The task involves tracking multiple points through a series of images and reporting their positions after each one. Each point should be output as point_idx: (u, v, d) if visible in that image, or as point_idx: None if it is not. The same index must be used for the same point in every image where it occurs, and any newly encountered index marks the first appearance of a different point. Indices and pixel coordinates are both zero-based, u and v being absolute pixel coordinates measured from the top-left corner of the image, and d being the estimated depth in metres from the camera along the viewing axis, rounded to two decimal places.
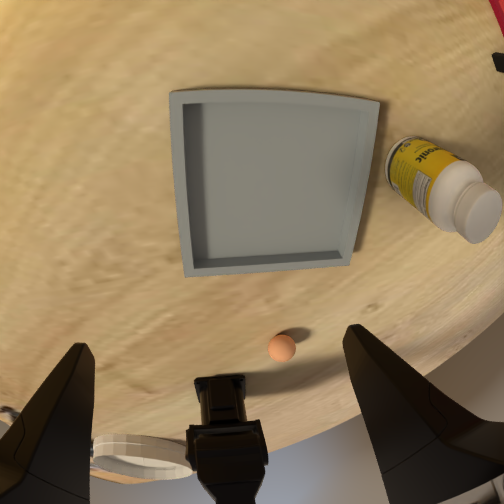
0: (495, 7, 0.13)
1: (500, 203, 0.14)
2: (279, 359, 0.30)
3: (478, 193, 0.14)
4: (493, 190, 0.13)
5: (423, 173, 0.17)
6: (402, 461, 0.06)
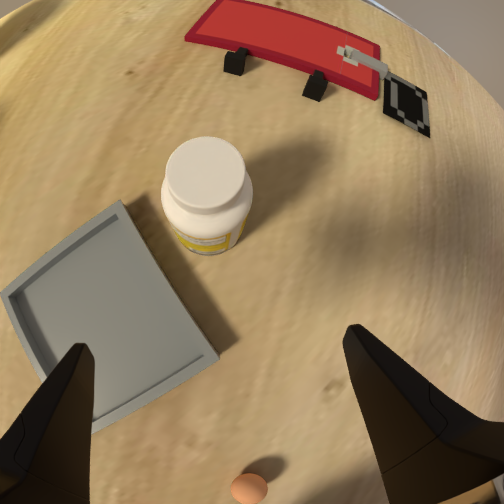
0: (197, 40, 0.27)
1: (215, 140, 0.14)
2: (246, 501, 0.17)
3: (168, 162, 0.14)
4: (185, 142, 0.14)
5: None
6: (402, 461, 0.06)
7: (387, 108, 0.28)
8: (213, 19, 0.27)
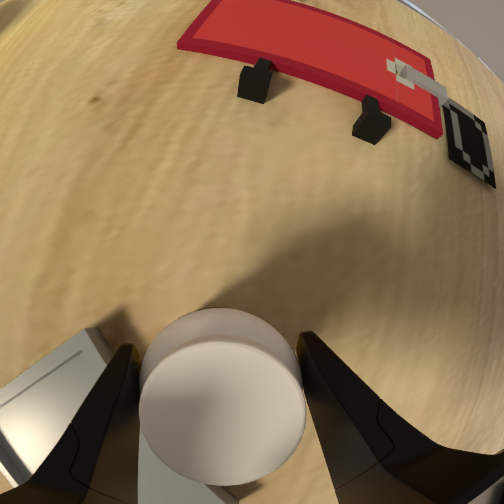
0: (195, 47, 0.19)
1: (241, 353, 0.06)
2: None
3: (141, 395, 0.06)
4: (172, 355, 0.06)
5: None
6: (350, 480, 0.06)
7: (453, 150, 0.20)
8: (217, 17, 0.19)
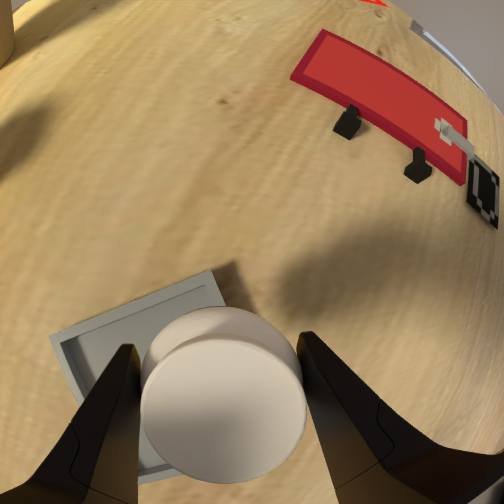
0: (304, 82, 0.26)
1: (242, 352, 0.06)
2: None
3: (143, 393, 0.06)
4: (173, 353, 0.06)
5: None
6: (351, 480, 0.06)
7: (470, 196, 0.27)
8: (320, 59, 0.27)
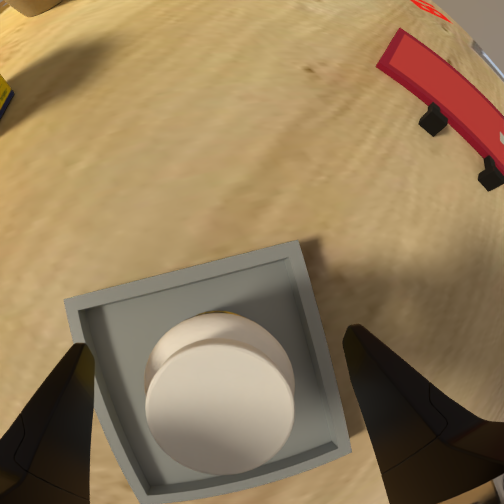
0: (390, 72, 0.23)
1: (237, 355, 0.07)
2: None
3: (148, 392, 0.07)
4: (175, 356, 0.07)
5: None
6: (403, 461, 0.06)
7: None
8: (402, 54, 0.23)
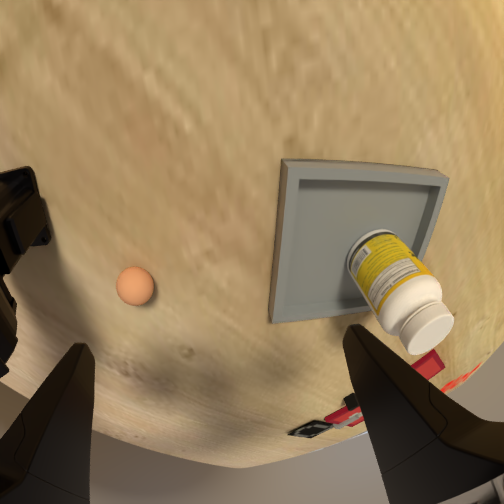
0: (427, 356, 0.40)
1: (441, 340, 0.17)
2: (129, 293, 0.20)
3: None
4: (452, 324, 0.17)
5: (414, 263, 0.19)
6: (402, 461, 0.06)
7: (316, 422, 0.46)
8: (432, 365, 0.42)
